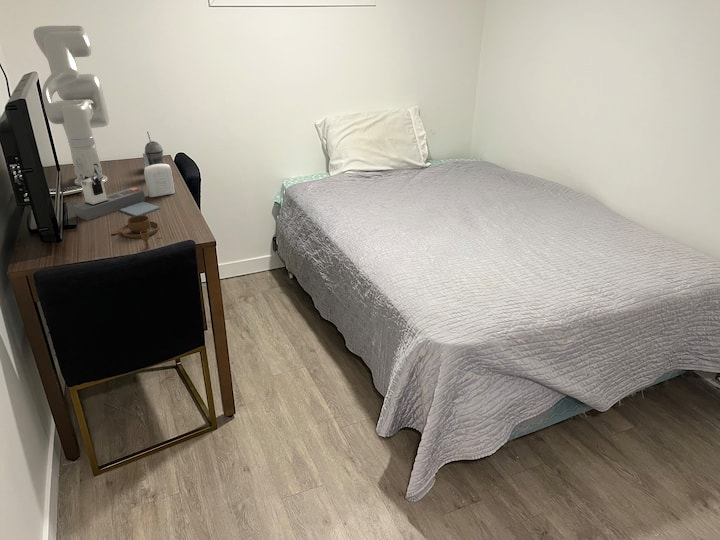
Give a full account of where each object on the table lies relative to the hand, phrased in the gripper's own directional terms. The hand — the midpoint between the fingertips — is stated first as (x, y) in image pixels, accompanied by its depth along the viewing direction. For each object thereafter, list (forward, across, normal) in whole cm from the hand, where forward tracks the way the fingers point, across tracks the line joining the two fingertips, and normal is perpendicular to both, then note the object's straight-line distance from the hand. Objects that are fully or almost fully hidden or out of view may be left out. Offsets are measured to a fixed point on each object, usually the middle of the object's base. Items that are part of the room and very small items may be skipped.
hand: (94, 192), depth 185 cm
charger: (+3, 0, 0) cm, 3 cm away
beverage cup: (+8, -16, +38) cm, 42 cm away
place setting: (+8, +30, -5) cm, 31 cm away
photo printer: (+8, +4, +25) cm, 26 cm away
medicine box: (+9, -26, +44) cm, 52 cm away
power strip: (+8, 0, +5) cm, 9 cm away
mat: (+8, +10, +10) cm, 16 cm away
